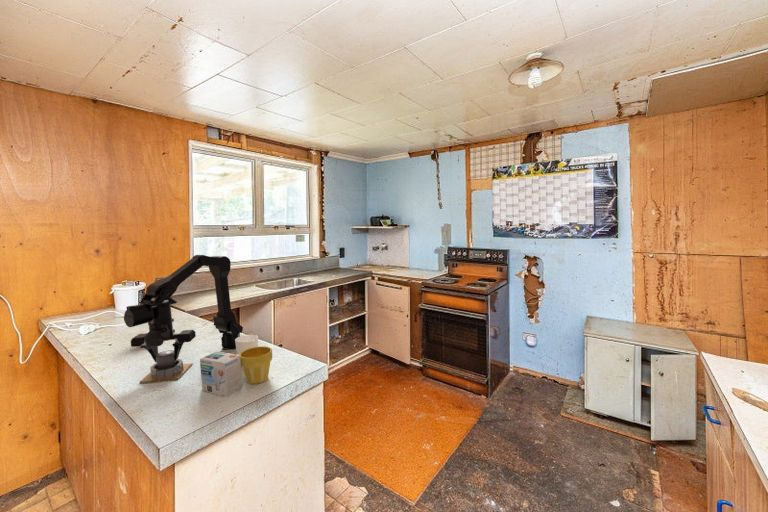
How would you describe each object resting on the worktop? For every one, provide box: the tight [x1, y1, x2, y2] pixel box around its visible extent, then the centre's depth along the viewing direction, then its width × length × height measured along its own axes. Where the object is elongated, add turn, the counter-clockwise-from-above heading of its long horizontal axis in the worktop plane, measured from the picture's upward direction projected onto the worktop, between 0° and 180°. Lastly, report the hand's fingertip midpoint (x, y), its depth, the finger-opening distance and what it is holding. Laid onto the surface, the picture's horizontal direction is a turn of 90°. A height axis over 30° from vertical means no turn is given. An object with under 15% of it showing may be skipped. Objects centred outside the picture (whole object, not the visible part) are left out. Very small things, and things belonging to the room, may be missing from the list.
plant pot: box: [239, 346, 273, 385], centre depth 110 cm, size 10×10×10 cm
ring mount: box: [139, 358, 193, 384], centre depth 117 cm, size 12×12×3 cm
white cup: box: [235, 334, 259, 368], centre depth 123 cm, size 8×8×10 cm
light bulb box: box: [199, 350, 243, 397], centre depth 105 cm, size 11×7×11 cm, turn 69°
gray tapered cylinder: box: [155, 349, 177, 368], centre depth 116 cm, size 6×6×4 cm
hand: (166, 361), depth 116 cm, fingers closed on gray tapered cylinder, 6 cm apart
